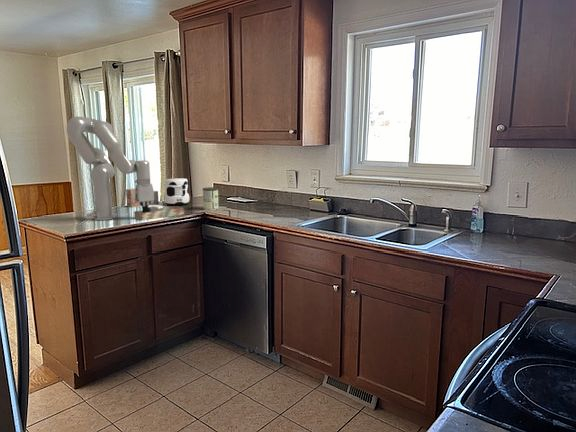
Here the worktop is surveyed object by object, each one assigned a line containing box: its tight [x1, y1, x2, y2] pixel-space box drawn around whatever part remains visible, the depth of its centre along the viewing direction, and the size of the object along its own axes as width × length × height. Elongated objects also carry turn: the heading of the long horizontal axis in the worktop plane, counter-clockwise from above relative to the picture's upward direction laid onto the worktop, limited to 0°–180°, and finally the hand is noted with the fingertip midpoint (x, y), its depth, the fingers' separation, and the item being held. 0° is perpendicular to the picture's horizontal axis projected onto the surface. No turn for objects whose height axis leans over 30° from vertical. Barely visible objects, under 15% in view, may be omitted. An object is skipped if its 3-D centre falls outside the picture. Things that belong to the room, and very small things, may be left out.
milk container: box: [163, 177, 190, 206], centre depth 310 cm, size 17×17×18 cm
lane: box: [133, 205, 185, 221], centre depth 265 cm, size 28×10×4 cm, turn 136°
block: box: [148, 205, 159, 212], centre depth 261 cm, size 5×5×4 cm
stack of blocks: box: [125, 187, 159, 208], centre depth 306 cm, size 21×6×12 cm, turn 140°
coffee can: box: [202, 186, 220, 211], centre depth 291 cm, size 10×10×14 cm
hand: (145, 212), depth 258 cm, fingers closed
